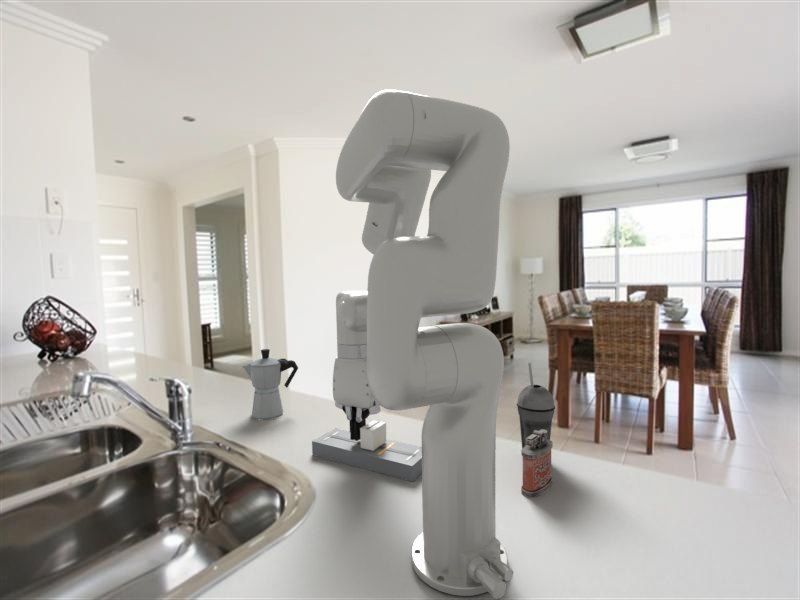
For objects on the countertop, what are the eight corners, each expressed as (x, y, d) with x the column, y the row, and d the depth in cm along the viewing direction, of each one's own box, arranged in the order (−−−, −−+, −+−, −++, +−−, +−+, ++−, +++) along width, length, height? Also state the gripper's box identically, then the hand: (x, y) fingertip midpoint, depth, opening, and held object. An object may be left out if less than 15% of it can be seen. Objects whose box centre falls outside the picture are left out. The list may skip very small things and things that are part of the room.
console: (431, 463, 82) (431, 448, 82) (412, 481, 75) (412, 465, 75) (336, 441, 94) (335, 427, 94) (312, 454, 87) (311, 440, 87)
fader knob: (386, 441, 85) (386, 422, 85) (373, 450, 81) (372, 430, 80) (374, 438, 87) (373, 419, 86) (360, 447, 82) (360, 427, 82)
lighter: (538, 475, 76) (539, 423, 76) (556, 482, 74) (557, 428, 73) (516, 492, 71) (516, 436, 70) (535, 500, 68) (535, 441, 68)
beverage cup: (557, 472, 78) (558, 368, 76) (517, 469, 79) (518, 367, 78) (551, 455, 85) (552, 359, 83) (515, 452, 86) (515, 358, 85)
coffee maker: (240, 422, 107) (237, 353, 106) (245, 411, 115) (242, 347, 114) (299, 416, 110) (297, 350, 109) (299, 406, 119) (297, 344, 118)
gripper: (396, 350, 84) (398, 438, 85) (338, 345, 91) (340, 425, 92) (376, 357, 77) (378, 452, 79) (315, 351, 85) (318, 437, 86)
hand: (358, 437), depth 85 cm, fingers closed
